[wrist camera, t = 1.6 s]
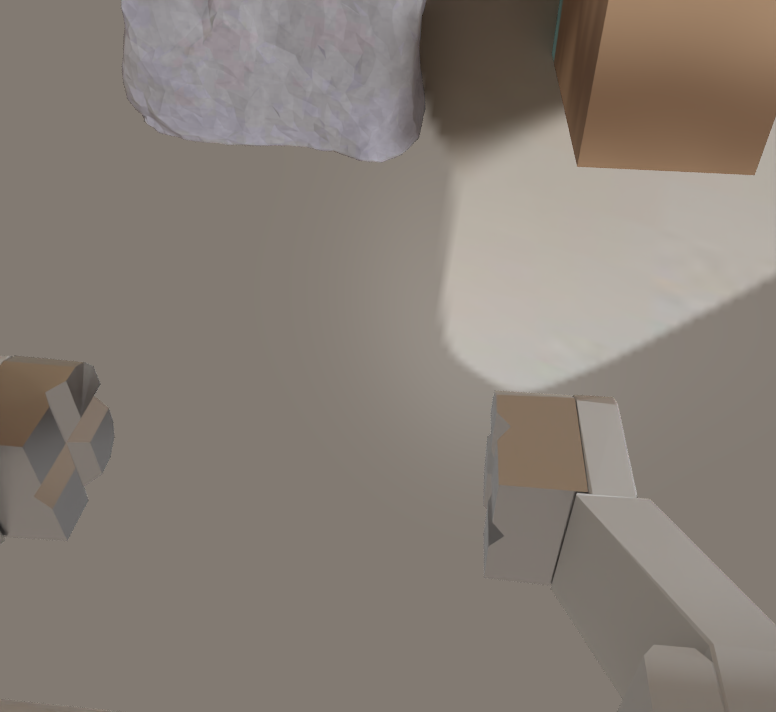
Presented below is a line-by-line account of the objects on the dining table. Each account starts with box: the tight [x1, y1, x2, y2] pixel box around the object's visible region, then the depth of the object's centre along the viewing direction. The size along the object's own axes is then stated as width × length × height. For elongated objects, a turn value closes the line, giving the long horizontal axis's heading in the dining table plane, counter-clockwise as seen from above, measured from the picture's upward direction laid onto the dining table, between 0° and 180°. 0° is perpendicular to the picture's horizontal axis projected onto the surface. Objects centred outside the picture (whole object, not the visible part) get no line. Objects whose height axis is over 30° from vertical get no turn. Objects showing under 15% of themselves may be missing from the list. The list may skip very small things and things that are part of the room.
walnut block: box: [552, 0, 776, 175], centre depth 23 cm, size 5×5×10 cm
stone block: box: [121, 0, 426, 162], centre depth 27 cm, size 12×5×10 cm
